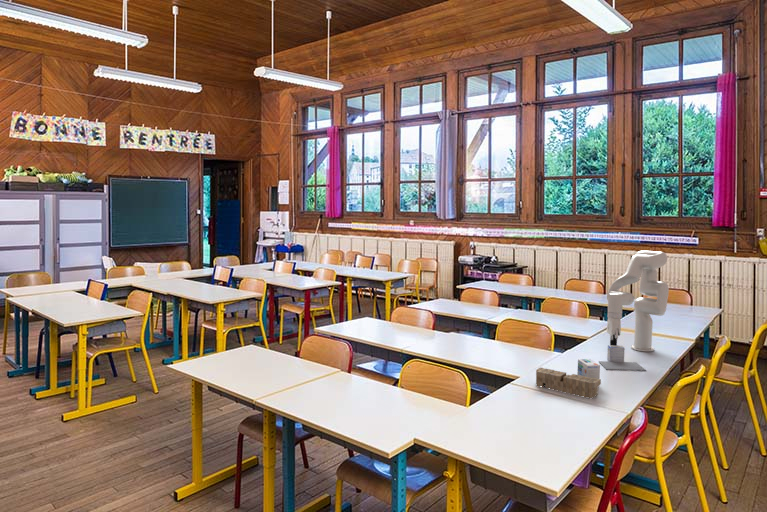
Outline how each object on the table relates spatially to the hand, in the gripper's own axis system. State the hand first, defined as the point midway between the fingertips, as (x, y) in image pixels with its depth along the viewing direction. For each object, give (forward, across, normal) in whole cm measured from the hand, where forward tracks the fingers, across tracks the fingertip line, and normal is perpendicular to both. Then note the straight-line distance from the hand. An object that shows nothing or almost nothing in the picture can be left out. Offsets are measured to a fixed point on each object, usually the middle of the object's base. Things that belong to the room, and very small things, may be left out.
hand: (613, 346), depth 303 cm
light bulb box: (+8, +44, -26) cm, 52 cm away
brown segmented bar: (+8, +56, -39) cm, 68 cm away
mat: (+7, +14, 0) cm, 16 cm away
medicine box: (+8, +4, 0) cm, 9 cm away
